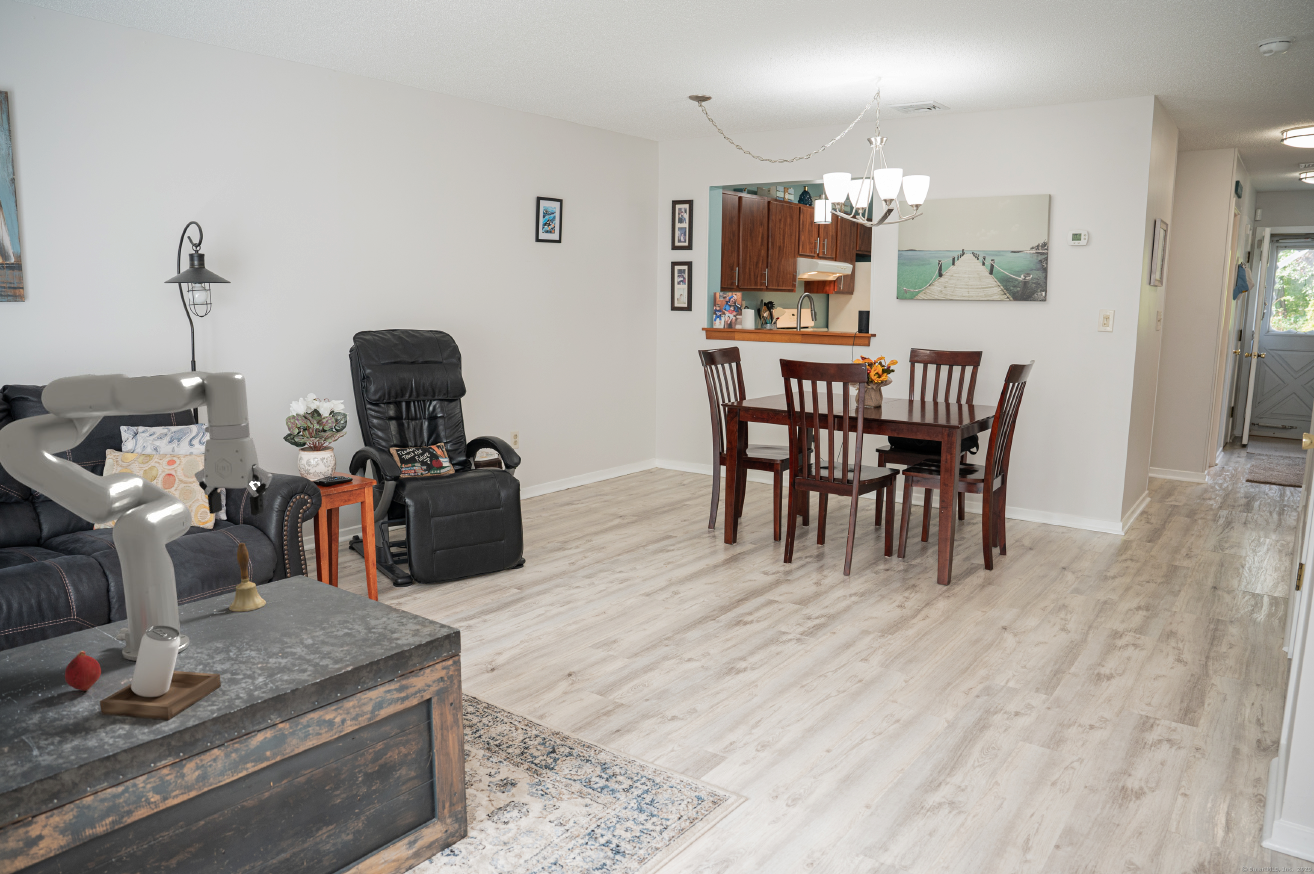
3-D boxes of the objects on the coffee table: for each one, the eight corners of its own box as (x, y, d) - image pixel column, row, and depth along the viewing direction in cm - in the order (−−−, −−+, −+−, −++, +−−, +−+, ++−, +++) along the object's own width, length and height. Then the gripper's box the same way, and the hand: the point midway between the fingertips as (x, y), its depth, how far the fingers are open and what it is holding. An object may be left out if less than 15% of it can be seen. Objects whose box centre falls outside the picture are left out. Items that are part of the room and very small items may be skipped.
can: (145, 702, 162) (158, 644, 160) (122, 686, 164) (135, 629, 162) (176, 691, 168) (189, 635, 166) (154, 676, 170) (167, 620, 168)
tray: (101, 713, 160) (99, 701, 159) (157, 681, 173) (156, 669, 173) (168, 719, 157) (167, 706, 157) (220, 686, 171) (219, 674, 170)
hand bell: (221, 611, 213) (215, 547, 210) (242, 599, 221) (237, 538, 218) (252, 612, 211) (247, 548, 209) (273, 601, 219) (267, 539, 217)
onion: (76, 699, 166) (71, 659, 164) (61, 693, 169) (56, 653, 167) (108, 688, 170) (104, 649, 169) (93, 681, 173) (88, 643, 172)
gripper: (179, 434, 179) (187, 516, 182) (255, 436, 176) (262, 519, 178) (204, 429, 186) (212, 507, 189) (278, 430, 183) (284, 510, 186)
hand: (236, 513), depth 184 cm, fingers open, 9 cm apart
